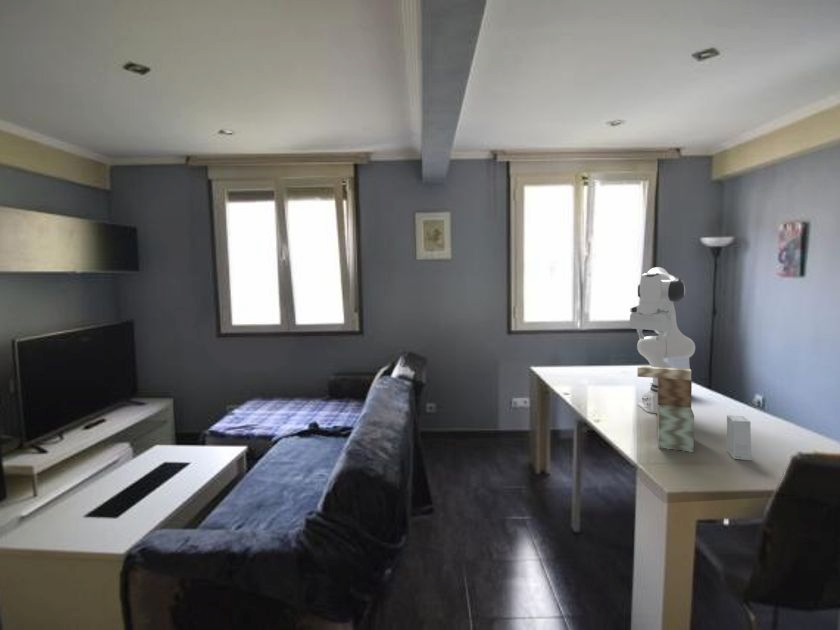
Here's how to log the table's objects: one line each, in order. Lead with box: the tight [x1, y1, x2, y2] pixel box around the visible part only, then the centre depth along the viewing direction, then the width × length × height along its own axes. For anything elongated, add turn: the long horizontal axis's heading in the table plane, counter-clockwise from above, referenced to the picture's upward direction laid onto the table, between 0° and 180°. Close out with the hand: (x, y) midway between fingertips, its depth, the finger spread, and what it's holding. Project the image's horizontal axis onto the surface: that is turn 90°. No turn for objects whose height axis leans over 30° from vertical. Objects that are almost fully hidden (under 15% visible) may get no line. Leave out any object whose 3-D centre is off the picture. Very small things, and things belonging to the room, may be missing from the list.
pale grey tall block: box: [663, 357, 691, 369], centre depth 256 cm, size 15×15×28 cm
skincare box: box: [726, 415, 752, 462], centre depth 166 cm, size 8×6×15 cm
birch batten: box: [636, 365, 692, 381], centre depth 187 cm, size 20×4×4 cm, turn 63°
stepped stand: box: [656, 378, 695, 453], centre depth 181 cm, size 12×20×26 cm, turn 153°
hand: (650, 339), depth 194 cm, fingers open, 8 cm apart
